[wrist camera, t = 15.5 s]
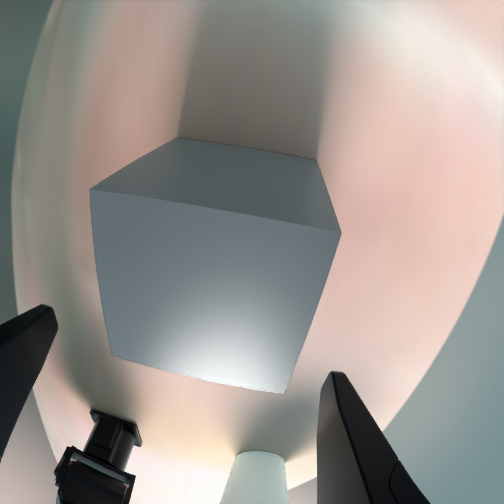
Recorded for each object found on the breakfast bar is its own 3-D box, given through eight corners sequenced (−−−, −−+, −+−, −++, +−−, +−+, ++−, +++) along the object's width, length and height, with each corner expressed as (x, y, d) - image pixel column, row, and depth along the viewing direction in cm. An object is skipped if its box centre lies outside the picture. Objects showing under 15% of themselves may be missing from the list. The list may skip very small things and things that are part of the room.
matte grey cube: (287, 279, 20) (283, 394, 13) (169, 256, 20) (111, 355, 13) (316, 160, 16) (341, 232, 9) (176, 137, 17) (89, 189, 9)
